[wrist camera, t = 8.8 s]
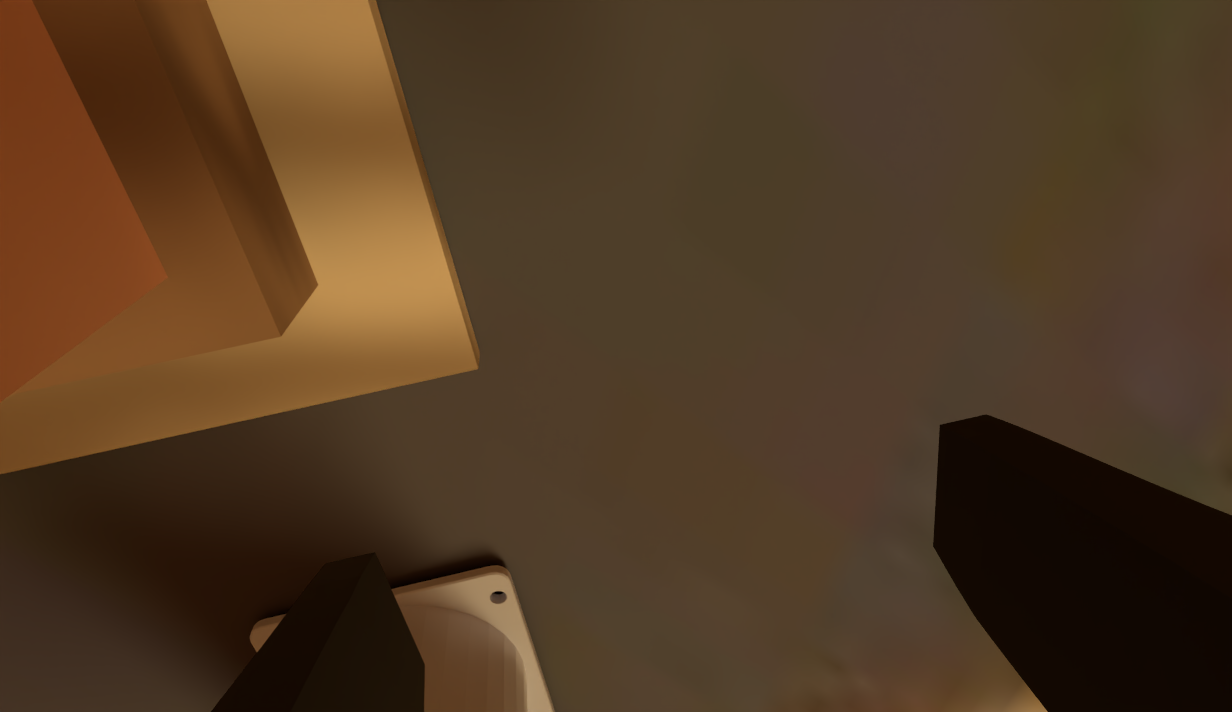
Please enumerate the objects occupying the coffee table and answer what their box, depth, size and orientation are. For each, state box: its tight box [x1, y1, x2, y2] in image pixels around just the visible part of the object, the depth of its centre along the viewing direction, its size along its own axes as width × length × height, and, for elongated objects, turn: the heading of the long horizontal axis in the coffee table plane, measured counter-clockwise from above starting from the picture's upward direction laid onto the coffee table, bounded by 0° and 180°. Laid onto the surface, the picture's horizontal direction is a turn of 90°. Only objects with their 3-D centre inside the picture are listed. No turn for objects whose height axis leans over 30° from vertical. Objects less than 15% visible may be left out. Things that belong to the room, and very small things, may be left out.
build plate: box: [0, 0, 480, 474], centre depth 15 cm, size 14×14×1 cm
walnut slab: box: [11, 0, 318, 395], centre depth 13 cm, size 8×8×3 cm
